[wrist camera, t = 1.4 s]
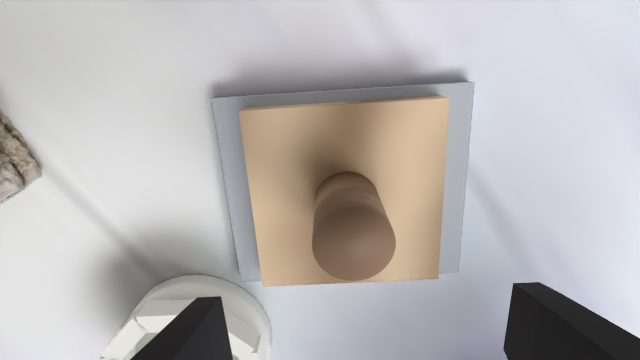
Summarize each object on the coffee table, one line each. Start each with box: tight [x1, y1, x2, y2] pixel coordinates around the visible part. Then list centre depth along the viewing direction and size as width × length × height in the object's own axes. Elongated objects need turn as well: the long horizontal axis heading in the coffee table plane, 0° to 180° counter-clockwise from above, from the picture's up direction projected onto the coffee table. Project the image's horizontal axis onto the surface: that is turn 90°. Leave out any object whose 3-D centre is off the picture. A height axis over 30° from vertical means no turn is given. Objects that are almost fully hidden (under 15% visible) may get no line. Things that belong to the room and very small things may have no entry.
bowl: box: [100, 275, 272, 360], centre depth 19 cm, size 8×8×3 cm
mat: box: [211, 82, 475, 282], centre depth 17 cm, size 12×10×1 cm
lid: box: [239, 96, 450, 286], centre depth 14 cm, size 9×9×5 cm
